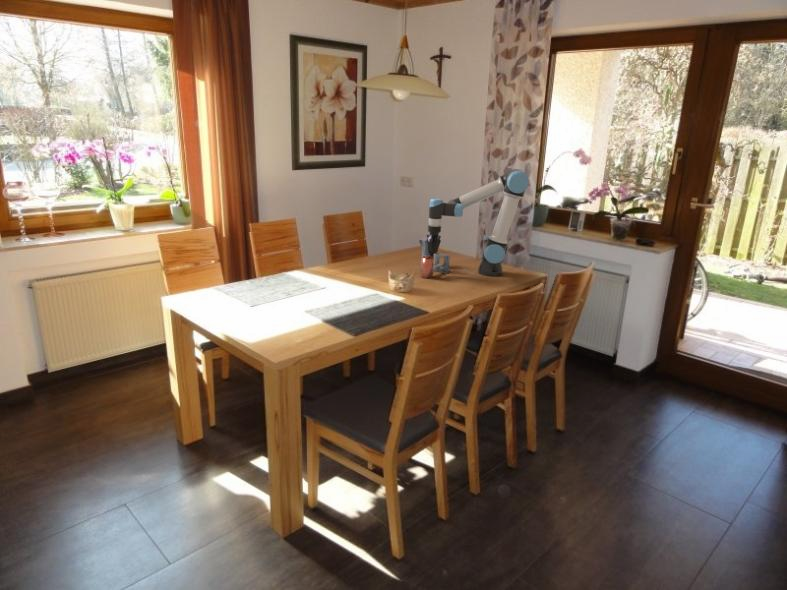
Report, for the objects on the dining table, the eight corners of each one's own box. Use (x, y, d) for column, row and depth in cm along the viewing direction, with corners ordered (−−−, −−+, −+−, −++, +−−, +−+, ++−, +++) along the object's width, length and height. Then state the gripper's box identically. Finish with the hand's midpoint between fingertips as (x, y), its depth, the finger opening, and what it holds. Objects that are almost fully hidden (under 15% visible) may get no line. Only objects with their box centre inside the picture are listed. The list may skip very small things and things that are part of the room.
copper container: (445, 271, 340) (447, 252, 336) (429, 278, 323) (430, 258, 319) (435, 269, 343) (437, 250, 340) (418, 276, 326) (420, 257, 323)
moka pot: (413, 264, 355) (415, 233, 349) (434, 262, 361) (436, 232, 355) (420, 268, 347) (422, 236, 341) (442, 266, 353) (444, 235, 347)
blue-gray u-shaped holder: (450, 271, 342) (451, 254, 338) (445, 273, 337) (447, 256, 334) (436, 268, 347) (437, 252, 343) (431, 270, 342) (432, 253, 339)
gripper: (434, 223, 330) (431, 261, 338) (423, 225, 320) (421, 265, 327) (445, 224, 326) (442, 263, 334) (434, 227, 316) (432, 267, 323)
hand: (432, 264), depth 330 cm, fingers closed
